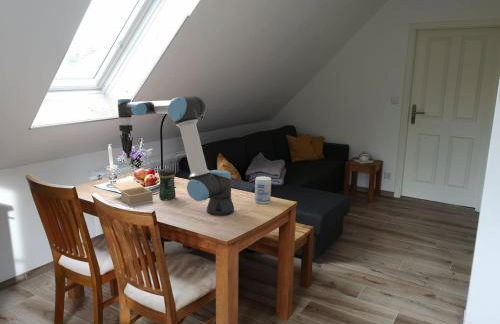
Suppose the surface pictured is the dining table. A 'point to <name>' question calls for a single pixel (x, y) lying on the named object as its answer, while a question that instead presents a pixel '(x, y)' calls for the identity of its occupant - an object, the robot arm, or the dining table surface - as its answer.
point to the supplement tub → (262, 189)
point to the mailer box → (136, 196)
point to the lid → (127, 185)
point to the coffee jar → (167, 184)
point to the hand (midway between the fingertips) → (128, 163)
